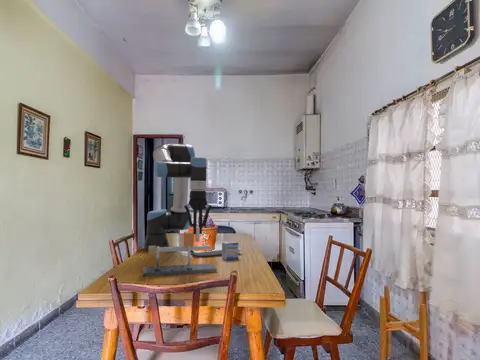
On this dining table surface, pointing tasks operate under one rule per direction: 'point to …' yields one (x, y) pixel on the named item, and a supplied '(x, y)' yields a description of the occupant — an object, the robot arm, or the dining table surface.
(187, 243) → the post
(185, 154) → the robot arm
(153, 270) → the bolt plate
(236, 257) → the medicine box
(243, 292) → the dining table surface
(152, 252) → the frame
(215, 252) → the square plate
